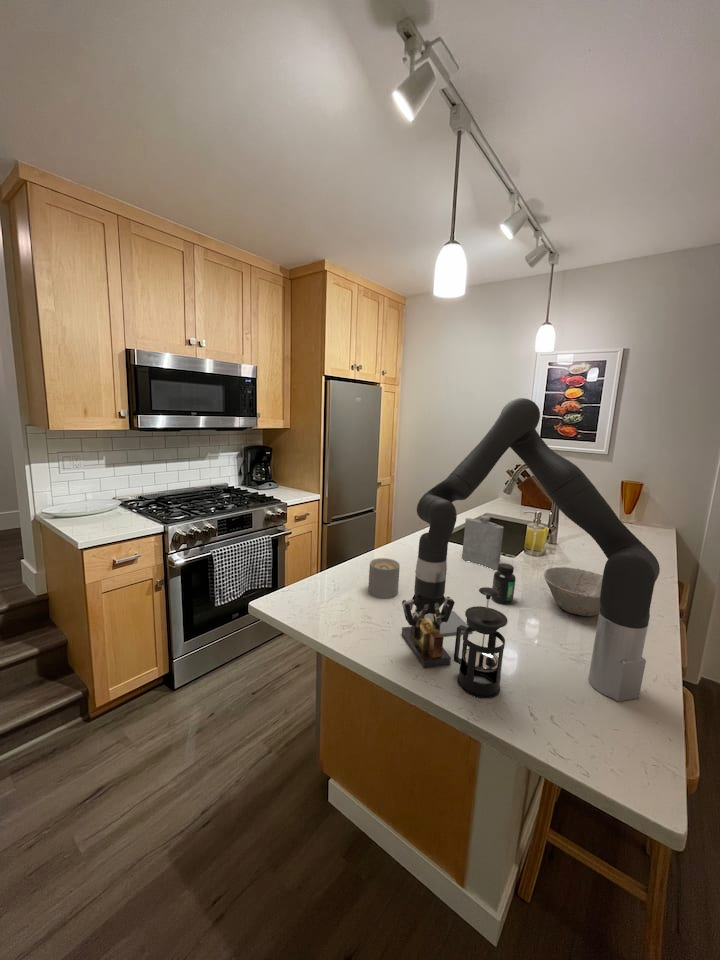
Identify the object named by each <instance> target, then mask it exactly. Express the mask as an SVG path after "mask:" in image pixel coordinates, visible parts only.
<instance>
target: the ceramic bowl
mask: <svg viewBox="0 0 720 960" xmlns="http://www.w3.org/2000/svg"><path fill="white" fill-rule="evenodd" d="M543 577H544V580H545V582H546V584H547V586H548V588H549V590H550V593H551V595H552V598H553V600H554V601H555V603H556V604H557V605H558V607H560V608H561V609H562V610H563V611H565V612H567V613H569V614H574V615H578V616H584V617H590V616H591V617H592V616H596V615H599V612H600V593H601V586H602V579H603V574H600V573H596V572H592V571H588V570H584V569H579V568H572V567H567V566H564V567H563V566H562V567H561V566H560V567H558V566H557V567H550V568H547V569H545V570H544V572H543Z"/></svg>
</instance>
